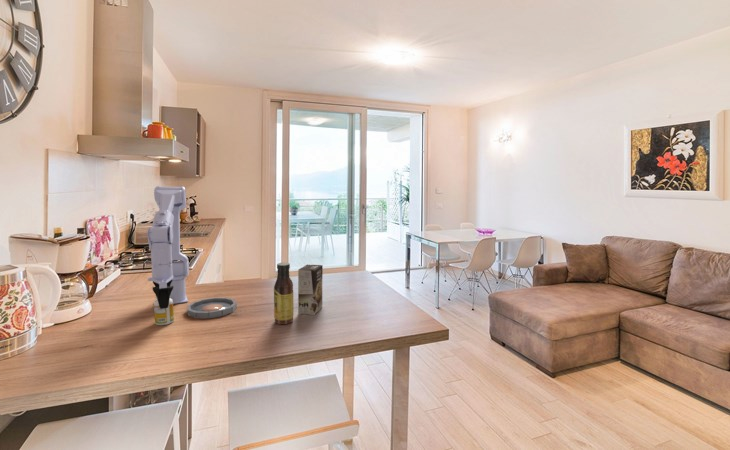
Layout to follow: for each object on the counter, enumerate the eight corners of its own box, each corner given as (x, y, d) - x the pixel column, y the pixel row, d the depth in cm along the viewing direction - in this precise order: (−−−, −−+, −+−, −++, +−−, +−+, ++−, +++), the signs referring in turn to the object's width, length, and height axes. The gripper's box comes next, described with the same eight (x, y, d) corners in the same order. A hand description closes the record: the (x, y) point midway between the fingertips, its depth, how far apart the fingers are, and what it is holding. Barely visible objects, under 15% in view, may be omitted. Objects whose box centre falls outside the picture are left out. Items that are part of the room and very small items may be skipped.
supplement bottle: (169, 318, 116) (167, 290, 115) (177, 321, 113) (175, 292, 112) (152, 323, 112) (150, 294, 111) (159, 327, 109) (158, 297, 107)
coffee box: (314, 315, 121) (314, 270, 119) (297, 313, 122) (297, 269, 120) (323, 306, 130) (323, 264, 128) (307, 305, 131) (306, 263, 129)
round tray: (185, 306, 127) (185, 301, 127) (231, 300, 135) (231, 295, 135) (189, 321, 113) (189, 315, 113) (240, 313, 122) (239, 307, 121)
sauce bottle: (276, 318, 117) (275, 261, 115) (294, 318, 118) (294, 261, 116) (272, 325, 111) (271, 265, 109) (292, 325, 112) (291, 265, 109)
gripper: (147, 260, 114) (149, 300, 116) (146, 269, 102) (148, 313, 103) (171, 258, 118) (173, 296, 119) (173, 266, 106) (175, 309, 107)
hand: (163, 304), depth 112 cm, fingers open, 7 cm apart
